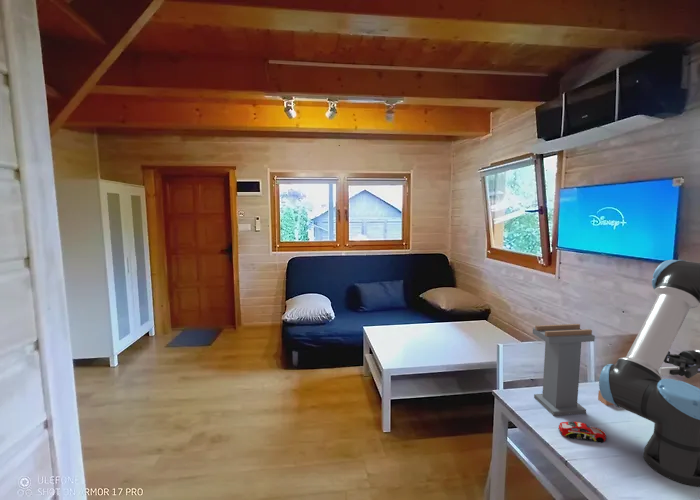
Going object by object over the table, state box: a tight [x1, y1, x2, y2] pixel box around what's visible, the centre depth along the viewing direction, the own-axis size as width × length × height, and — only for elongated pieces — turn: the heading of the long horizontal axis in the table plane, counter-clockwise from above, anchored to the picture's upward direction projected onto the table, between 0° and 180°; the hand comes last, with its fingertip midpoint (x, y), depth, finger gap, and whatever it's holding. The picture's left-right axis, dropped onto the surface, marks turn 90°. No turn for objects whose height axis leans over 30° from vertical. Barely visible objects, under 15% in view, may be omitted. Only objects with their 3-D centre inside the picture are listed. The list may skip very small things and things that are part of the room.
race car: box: [558, 421, 607, 444], centre depth 121 cm, size 13×5×4 cm, turn 73°
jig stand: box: [532, 323, 596, 417], centre depth 137 cm, size 16×12×30 cm
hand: (643, 363), depth 139 cm, fingers open, 13 cm apart
